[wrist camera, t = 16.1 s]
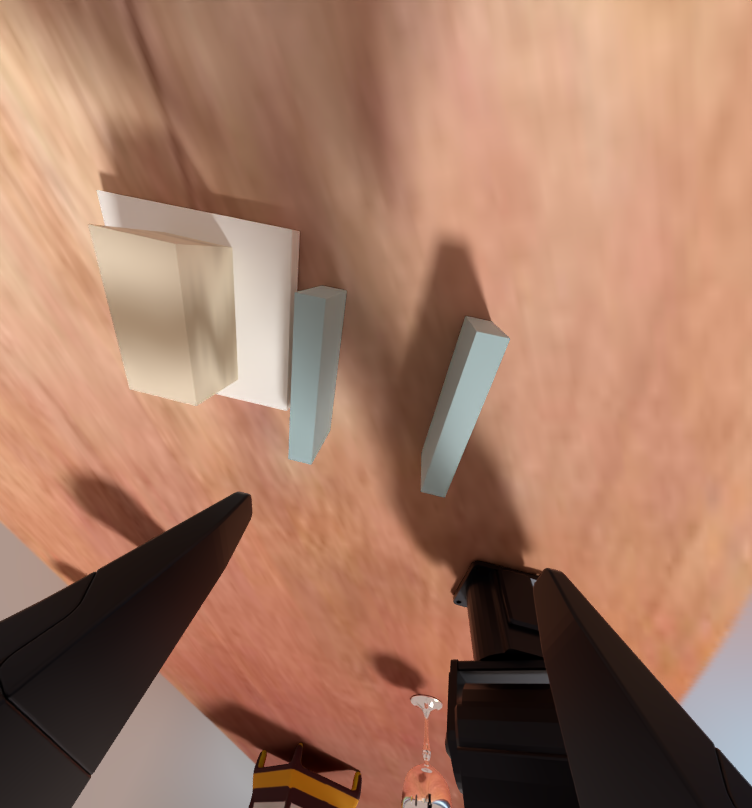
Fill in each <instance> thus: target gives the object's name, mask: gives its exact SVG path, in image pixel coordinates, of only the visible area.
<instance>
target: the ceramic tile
mask: <svg viewBox="0 0 752 808" xmlns="http://www.w3.org/2000/svg"><path fill="white" fill-rule="evenodd" d="M97 194H98V198H99V202H100V206H101V211H102V215H103V219H104V223H105V226H111V227H120V228H130V229H140V230H149V231H159V232H166V233H170V234H175V235H179V236H184V237H188V238H192V239H197V240H201V241H206V242H210V243H215V244H219V245H223V246H228V247H232V253H233V275H234V296H235V318H236V340H237V362H238V380H236V381H235V382H233V383H232V384H230V385H229V386H227V387H226V388H224V389H222V390H221V391H219V392H218V393H216V394H218V395H222V396H227V397H231V398H235V399H239V400H243V401H248V402H252V403H256V404H260V405H264V406H269V407H273V408H277V409H281V410H285V411H287V410H288V409H289V408H290V403H291V377H292V350H293V323H294V296H295V292H297V289H298V265H299V240H300V231H296V230H292V229H287V228H282V227H277V226H272V225H267V224H262V223H257V222H252V221H247V220H243V219H238V218H233V217H228V216H223V215H218V214H213V213H208V212H203V211H198V210H193V209H188V208H183V207H178V206H174V205H169V204H164V203H159V202H154V201H149V200H144V199H139V198H134V197H129V196H124V195H119V194H114V193H109V192H104V191H100V190H97Z"/></svg>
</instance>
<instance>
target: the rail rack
mask: <svg viewBox="0 0 752 808" xmlns="http://www.w3.org/2000/svg"><path fill="white" fill-rule="evenodd" d="M346 295H347V290H342V289H337V288H332V287H328V286H323V285H322V286H318V287H314V288H310V289H306V290H302V291H298V292H295V296H294V323H293V350H292V377H291V403H290V430H289V457H288V459H290V460H294V461H298V462H303V463H307V464H312V462H313V461H314V459H315V457H316V455H317V453H318V452H319V450H320V448H321V446H322V444H323V443H324V441H325V439H326V437H327V435H328V434H329V432H330V428H331V419H332V411H333V403H334V394H335V386H336V378H337V370H338V361H339V353H340V345H341V336H342V328H343V320H344V311H345V303H346ZM509 341H510V338H509V337H508V336H507V335H506V334H505V333H504V332H503V331H501V330H500V329H499V328H498V327H497V326H496V325H495V324H494V323H493V322H492V321H488V320H483V319H478V318H474V317H469V316H465V319H464V322H463V325H462V328H461V331H460V334H459V337H458V341H457V344H456V347H455V350H454V353H453V356H452V359H451V362H450V365H449V368H448V372H447V375H446V378H445V381H444V384H443V387H442V390H441V393H440V396H439V400H438V403H437V406H436V409H435V412H434V415H433V418H432V421H431V424H430V427H429V431H428V434H427V437H426V440H425V443H424V446H423V449H422V452H421V492H424V493H428V494H432V495H436V496H440V497H444V498H445V496H446V494H447V491H448V489H449V486H450V484H451V481H452V479H453V477H454V474H455V472H456V469H457V467H458V464H459V462H460V460H461V457H462V455H463V452H464V450H465V447H466V445H467V443H468V440H469V438H470V435H471V433H472V430H473V428H474V426H475V423H476V421H477V418H478V416H479V413H480V411H481V409H482V406H483V404H484V401H485V399H486V396H487V394H488V392H489V389H490V387H491V384H492V382H493V379H494V377H495V375H496V372H497V370H498V367H499V365H500V362H501V360H502V358H503V355H504V353H505V350H506V348H507V345H508V343H509Z"/></svg>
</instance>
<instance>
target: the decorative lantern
mask: <svg viewBox="0 0 752 808" xmlns="http://www.w3.org/2000/svg"><path fill="white" fill-rule="evenodd" d="M302 750H303V744H302V743H299V744H298V746H297V747H296V750H295V753H294V756H293V759H292V761H291V762H290V763H289V764H284V765H277V766H270V767H264V764H265V760H266V756H267V752H266V750H263V751H262V752H261V753H260V755H259V757H258V760H257V763H256V765H255V768H254V774H253V793H252V798H251V802H250V805H249V808H356V806H357V803H358V801H359V798H360V793H361V783H362V778H361V773H360V772H356V773H355V776H354V779H353V785H352V789H351V790H350V789H348V788H346V787H344V786H342V785H340V784H338V783H336V782H333V781H331V780H329V779H327V778H325V777H323V776H321V775H319V774H317V773H315V772H313V771H311V770H309V769H306V768H305V767H303V765H302V764H301V757H302Z"/></svg>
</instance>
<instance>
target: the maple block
mask: <svg viewBox="0 0 752 808" xmlns="http://www.w3.org/2000/svg"><path fill="white" fill-rule="evenodd" d="M88 226H89V230H90V234H91V238H92V242H93V246H94V250H95V254H96V258H97V262H98V266H99V270H100V274H101V278H102V282H103V286H104V290H105V294H106V298H107V301H108V305H109V309H110V313H111V317H112V321H113V325H114V329H115V333H116V337H117V341H118V345H119V349H120V353H121V357H122V361H123V365H124V369H125V373H126V377H127V381H128V384H129V388H130V389H131V390H135V391H139V392H143V393H147V394H151V395H155V396H159V397H162V398H166V399H170V400H174V401H178V402H182V403H186V404H190V405H194V406H198V405H199V404H201V403H202V402H204V401H205V400H207V399H208V398H210V397H212V396H213V395H215V394H216V393H218V392H219V391H221V390H222V389H224V388H226V387H227V386H229V385H230V384H232V383H233V382H235V381H236V380H238V362H237V340H236V318H235V296H234V275H233V253H232V247H228V246H223V245H219V244H215V243H210V242H206V241H201V240H197V239H192V238H188V237H184V236H179V235H175V234H170V233H166V232H159V231H149V230H140V229H130V228H120V227H111V226H101V225H92V224H88Z"/></svg>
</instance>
